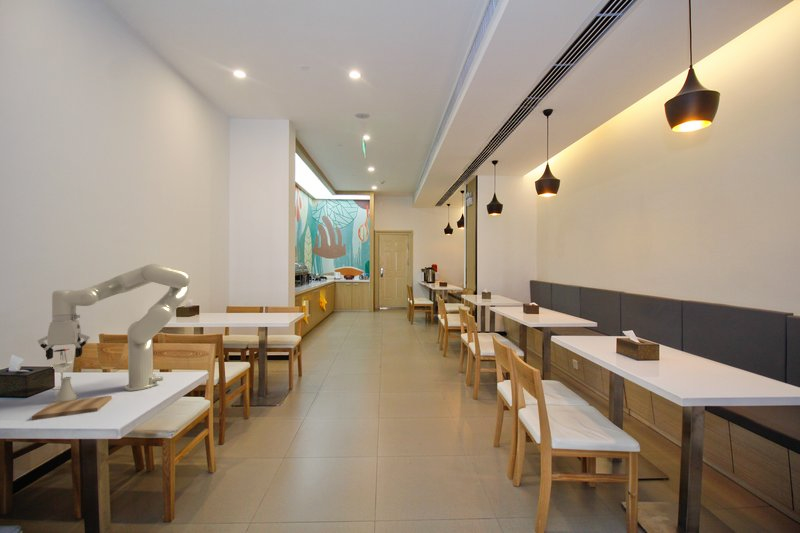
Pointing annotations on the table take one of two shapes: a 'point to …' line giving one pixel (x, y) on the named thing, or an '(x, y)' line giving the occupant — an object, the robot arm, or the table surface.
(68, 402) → the walnut board
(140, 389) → the robot arm
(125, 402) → the table surface
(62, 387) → the flask
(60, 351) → the wineglass
